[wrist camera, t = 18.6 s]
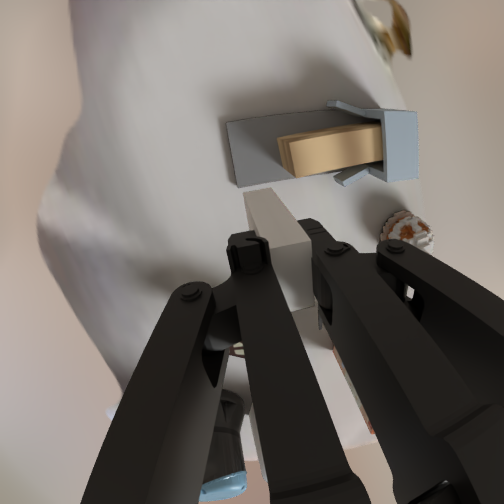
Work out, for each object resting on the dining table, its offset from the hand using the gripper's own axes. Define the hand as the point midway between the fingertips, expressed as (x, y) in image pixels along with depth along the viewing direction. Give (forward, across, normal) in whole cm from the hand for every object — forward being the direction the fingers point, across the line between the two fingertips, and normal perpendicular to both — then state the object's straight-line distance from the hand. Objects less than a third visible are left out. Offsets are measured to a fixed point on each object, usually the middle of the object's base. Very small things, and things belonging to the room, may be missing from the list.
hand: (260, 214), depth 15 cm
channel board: (+22, +11, 0) cm, 25 cm away
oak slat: (+21, +13, 0) cm, 25 cm away
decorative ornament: (+23, +25, -16) cm, 37 cm away
